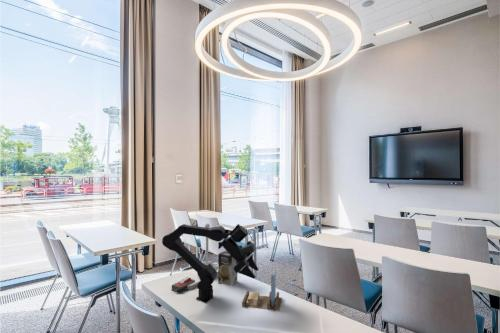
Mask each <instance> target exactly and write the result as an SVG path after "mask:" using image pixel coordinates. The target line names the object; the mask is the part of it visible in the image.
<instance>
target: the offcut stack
mask: <svg viewBox="0 0 500 333" xmlns="http://www.w3.org/2000/svg"><path fill="white" fill-rule="evenodd" d="M259 296H260V292H255V291H249V296H248V298H247V301H246V305H252V306H257V304H258V300H259Z"/></svg>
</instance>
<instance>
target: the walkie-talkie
mask: <svg viewBox="0 0 500 333" xmlns="http://www.w3.org/2000/svg"><path fill="white" fill-rule="evenodd" d="M199 282H200V280H199V281H195V279H193V278H191V277H189V276H186V277H184V278H182V279H181V280H179V281H177V282H175V283H173V284H171V291H173V292H175V293H178V294H180V293H183V292H185V291H187V290H193V289H195V288H198V287H197V284H198V283H199Z"/></svg>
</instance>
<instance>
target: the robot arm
mask: <svg viewBox="0 0 500 333" xmlns="http://www.w3.org/2000/svg"><path fill="white" fill-rule="evenodd" d="M183 235H191V236H197V237H205V238H206V237H207V238H208V240H211V241H215V242H218V250H219V249H221V248H224V249H225V251H227V252H228V253H229V254H230V257H233V258H234V259H235V260H236V265H235V266H234V271H235V272H236V273H237V274H240V275H243V276H246V277H249V278H251V279H255V278H256V275H255V273H253V270H254V271H257V272H258V271H259V267H258V266H257V264H256V261H255V259H254V252H255V250H256V246H255V243H254V242H252V241H250V240H249V241H247V242H246V245H244V246H242V245H239V244H238V243H241V242H242V241H243V240H244V239H245V238H246V237H248V235H249V232H248V230H247V228H245V227H244V226H243V225H240V224H239V223H238V224H236V225H235V227H234V228H233V229H225V227H224V226H212V227H211V226H210V227H209V228H206V227H205V226H204V227H203V226H197V225H192V224H191V225H190V224H186V223H185V224H184V223H183V224H182V225H179V226H178V227H177V228H176V229H175V230H174V231H172V232H170V233H167V234H166V235H164V236H163V237H162V240H161V243H162V246H164V247H165V248H167V249H168V250H170V251H172V252H175V253H176V254H178V256H179V257H181V259H182V260H184V262H186V264H188V265H189V266H190V267H191V268H192V269H193V270H194V271H195V272H196V273H197V277H198V279H199V281H200V282H199V281H198V282H199V283H198V284H197V287H196V288H197V289H198V296H197V297H196V299H195V300H198V301H201V302H203V303H209V301H211V300H212V299H213V298H214V289H213V285H212V284H214V282H215V280H216V279H217V278H218V271H216V270H215V268H213V267H212V265H211V264H208V266H207V265H205V264H203V263H202V262H203V261H201V260H200V259H199V258H198V257H197V256H196V254H194V253H193V252H192V251H191V250H189V249H188V247H186V245H185V244H184V243H183V241H182V238H181V237H182V236H183ZM251 269H253V270H251Z"/></svg>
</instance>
